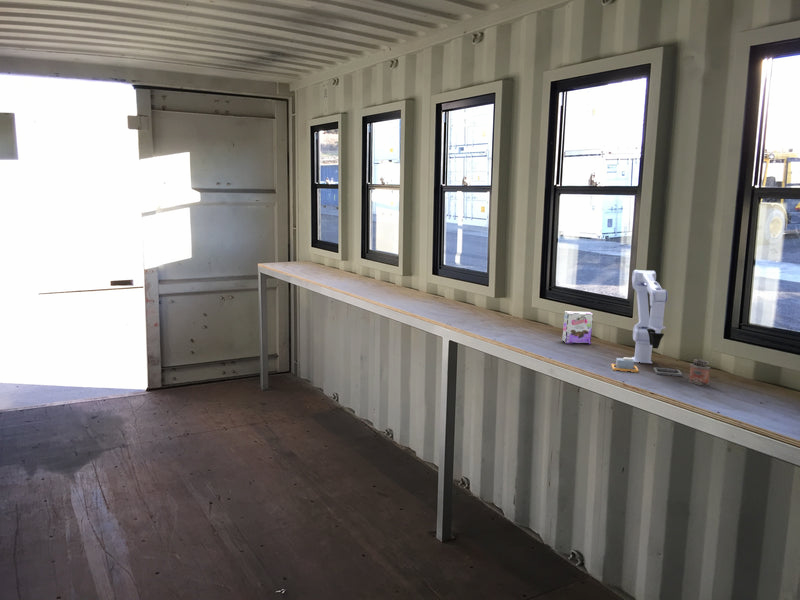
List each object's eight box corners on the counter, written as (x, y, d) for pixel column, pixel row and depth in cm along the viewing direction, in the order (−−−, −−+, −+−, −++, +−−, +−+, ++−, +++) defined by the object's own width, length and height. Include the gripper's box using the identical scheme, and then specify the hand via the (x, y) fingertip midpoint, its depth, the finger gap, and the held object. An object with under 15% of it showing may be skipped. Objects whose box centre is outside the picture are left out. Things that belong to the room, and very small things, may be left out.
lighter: (686, 381, 269) (689, 358, 267) (690, 380, 271) (693, 357, 269) (706, 386, 263) (708, 362, 261) (709, 384, 265) (712, 361, 263)
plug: (615, 367, 288) (616, 356, 288) (631, 369, 287) (633, 357, 286) (616, 369, 284) (617, 358, 283) (633, 371, 283) (634, 359, 282)
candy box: (565, 343, 335) (567, 312, 332) (561, 341, 340) (564, 310, 338) (591, 344, 335) (593, 313, 333) (587, 341, 341) (589, 311, 339)
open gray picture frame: (653, 369, 287) (653, 367, 286) (678, 371, 284) (678, 369, 284) (656, 374, 279) (656, 371, 279) (682, 376, 276) (682, 374, 276)
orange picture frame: (611, 365, 291) (611, 363, 290) (635, 368, 288) (636, 365, 288) (613, 370, 283) (613, 368, 283) (638, 372, 280) (638, 370, 280)
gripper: (669, 319, 276) (666, 350, 278) (663, 315, 290) (660, 344, 292) (651, 318, 277) (649, 349, 279) (647, 313, 292) (644, 343, 293)
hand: (653, 346), depth 286 cm, fingers open, 7 cm apart
